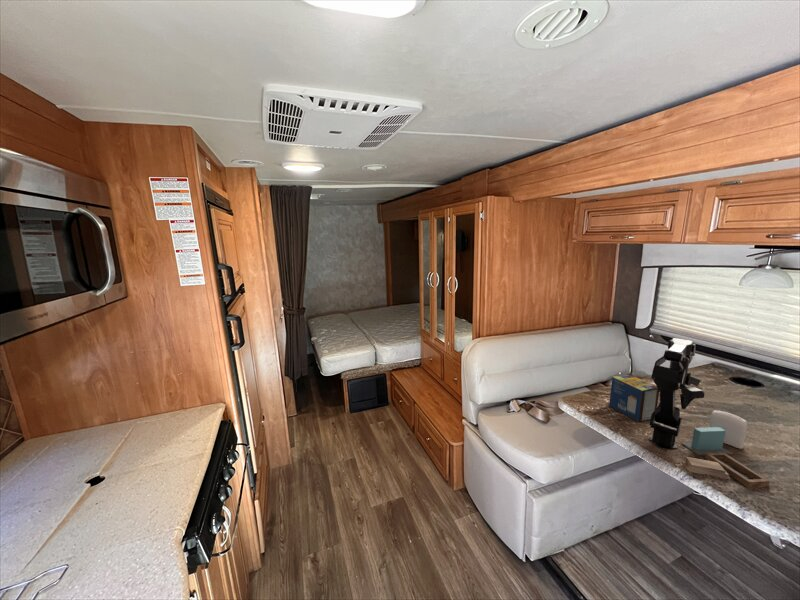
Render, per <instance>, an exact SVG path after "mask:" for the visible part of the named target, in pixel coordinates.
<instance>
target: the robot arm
mask: <svg viewBox="0 0 800 600" xmlns="http://www.w3.org/2000/svg"><path fill="white" fill-rule="evenodd" d="M696 345H697V344H695V343H694V341H693V340H688V339H684V338H683V339H682V338H675V337H673V338H672V339H670V340H669V342H667V349H665V351H664V353H663V356H661V357H660V358H657V360H656V361H655V363H654V365H653V367H652V368H653V369H652V373H651V375H650V377H651V378H650V379H651V380H652V381H653V383H654V385H655V386H657V387H658V390H659V402H658V405H657V409H656V410H655V411H654V412H653V413H652V415H651V419H650V420H649V423H648V424H649V425H648V426H649V427H650V428H651V429H653V432H652V437H648V440H649V441H650V442H652V443H654V444H655V445H656V446H657V447H658V448H660V450H661V449H662V450H665V449H666V450H668V449H670V450H671V449H673V450H674V449H678V446H677V445H675V444H676V443H675V442H676V438H678V436H679V434H680V432H681V426H682V421H683V418H682V417H681V410H686V409H687V407H688V406H689V405H690V404H691V403H692V402H693V400H695V399H704V398H705V391H703V390H702V389H699V388H698V387H699V385H700V384H701V381H702V379H700V378H697V377H695V376H693V375H692V373H690V372H689V367H690V366H689V365H690V364H691V362H692V360H693V359H694V357H695V355H696ZM667 361H669V367H666V366H663V365H662V364H664V363H665V362H667ZM677 390H680V394H679V397H680V399H679V400H680V407H681V410H680V408H679V407H677V406H676V391H677Z"/></svg>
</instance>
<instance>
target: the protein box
mask: <svg viewBox="0 0 800 600" xmlns="http://www.w3.org/2000/svg"><path fill="white" fill-rule="evenodd" d="M610 387H611V388H610V392H609V393H610V395H609V402H608V403H609V404H608V406H609V407H611V408H613V409H615V410H617V411H619V412H620V413H622V414H624V415H626V416H627V417H628V418H631V419H632V420H634V421H636V422H644V421H648V420H649V421H650V419H651V415H652V413H653V412H654V411H655V410H656V409H657V406H659V398H660V392H659V390H658V387H657V386H656V384H652V383H650V382H647V381H645V380H643V379H640V378H638V377H636V376H633V375H631V374H622V375H616V376H612V377H611V386H610Z"/></svg>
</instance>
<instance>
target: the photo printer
mask: <svg viewBox="0 0 800 600" xmlns="http://www.w3.org/2000/svg"><path fill="white" fill-rule="evenodd" d="M709 427H720V428H722V429H723V430H725V431H726V432H725V437H724V442H723V444H726V445H729V446H731V447H733V448H737V449H741V450H742V449H743V448H744V445H745V440H746V433H747V429H748V422H747V420H746V419H744V418H742V417H740V416H738V415H736V414H733V413H730V412H727V411H722V410H713V411H712V413H710V418H709V426H708V428H709Z"/></svg>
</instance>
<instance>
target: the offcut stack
mask: <svg viewBox="0 0 800 600" xmlns="http://www.w3.org/2000/svg"><path fill="white" fill-rule="evenodd" d="M684 458H685V460H682V461H681V463H682V465H684V467H685V468H686V470H687V471H688V472H690V473H695V474H700V475H705V474H707V476H710V475H711V477H715V476H716V477H717V478H719V479H720V478H721V479H727V480H730V475H729V474H728V473H727V472H726V471H725V470H724V469H723V467H722V466H721V465H720V464H719V463H718V462H712V461H708V460H707V459H699V458H695V457H689V456H685V457H684ZM716 477H715V478H716Z"/></svg>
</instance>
